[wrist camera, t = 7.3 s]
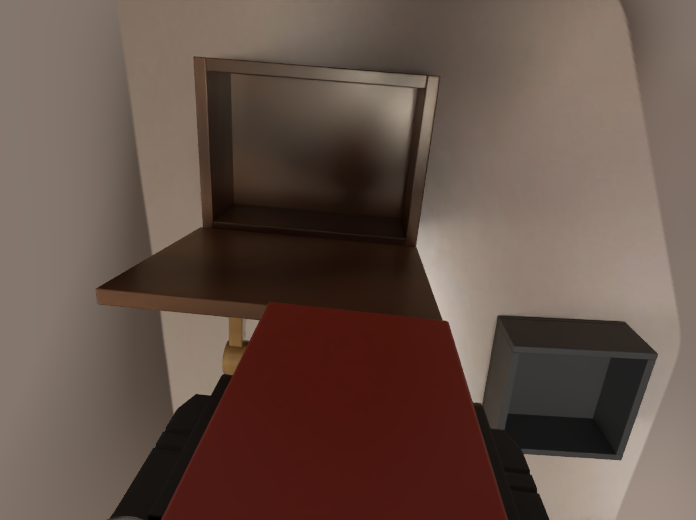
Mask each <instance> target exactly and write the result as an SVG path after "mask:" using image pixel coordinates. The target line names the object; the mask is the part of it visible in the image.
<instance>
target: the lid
mask: <svg viewBox="0 0 696 520" xmlns="http://www.w3.org/2000/svg"><path fill="white" fill-rule="evenodd" d="M96 296H97V304H101V305H110V306H120V307H131V308H141V309H151V310H161V311H172V312H182V313H192V314H202V315H213V316H223V317H229V341H228V342H227V344H226V347H225V350H224V354H223V362H222V367H223V372H224V373H225V374H229V375H233V374H234V371H235V369H236V367H237V365H238V363H239V361H240V359H241V357H242V355H243V353H244V351H245V349H246V347H247V345H248V343H249V341H247V340H245V336H246V319H254V320H260V319H261V317H262V315H263V313H264V311H265V309H266V307H267V305H268V303H269V302H276V303H285V304H294V305H304V306H313V307H322V308H331V309H341V310H350V311H359V312H368V313H378V314H387V315H396V316H405V317H415V318H424V319H433V320H442V317H441V315H440V312H439V309H438V306H437V303H436V301H435V298H434V295H433V292H432V289H431V287H430V284H429V281H428V278H427V275H426V273H425V270H424V267H423V264H422V262H421V259H420V256H419V253H418V250H417V248H416V247H410V246H399V245H388V244H377V243H366V242H355V241H344V240H333V239H323V238H312V237H301V236H290V235H279V234H268V233H257V232H246V231H235V230H224V229H213V228H202V227H201V228H199V229H197V230H195V231H194V232H192V233H190V234H189V235H187V236H185V237H183V238H182V239H180V240H178V241H177V242H175V243H173V244H171V245H170V246H168V247H166V248H165V249H163V250H161V251H159V252H158V253H156V254H154V255H153V256H151V257H149V258H147V259H146V260H144V261H142V262H141V263H139V264H137V265H135V266H134V267H132V268H130V269H129V270H127V271H125V272H123V273H122V274H120V275H118V276H117V277H115V278H113V279H112V280H110V281H108V282H106V283H105V284H103V285H102V286H100V287H98V288H96ZM442 321H443V320H442Z"/></svg>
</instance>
